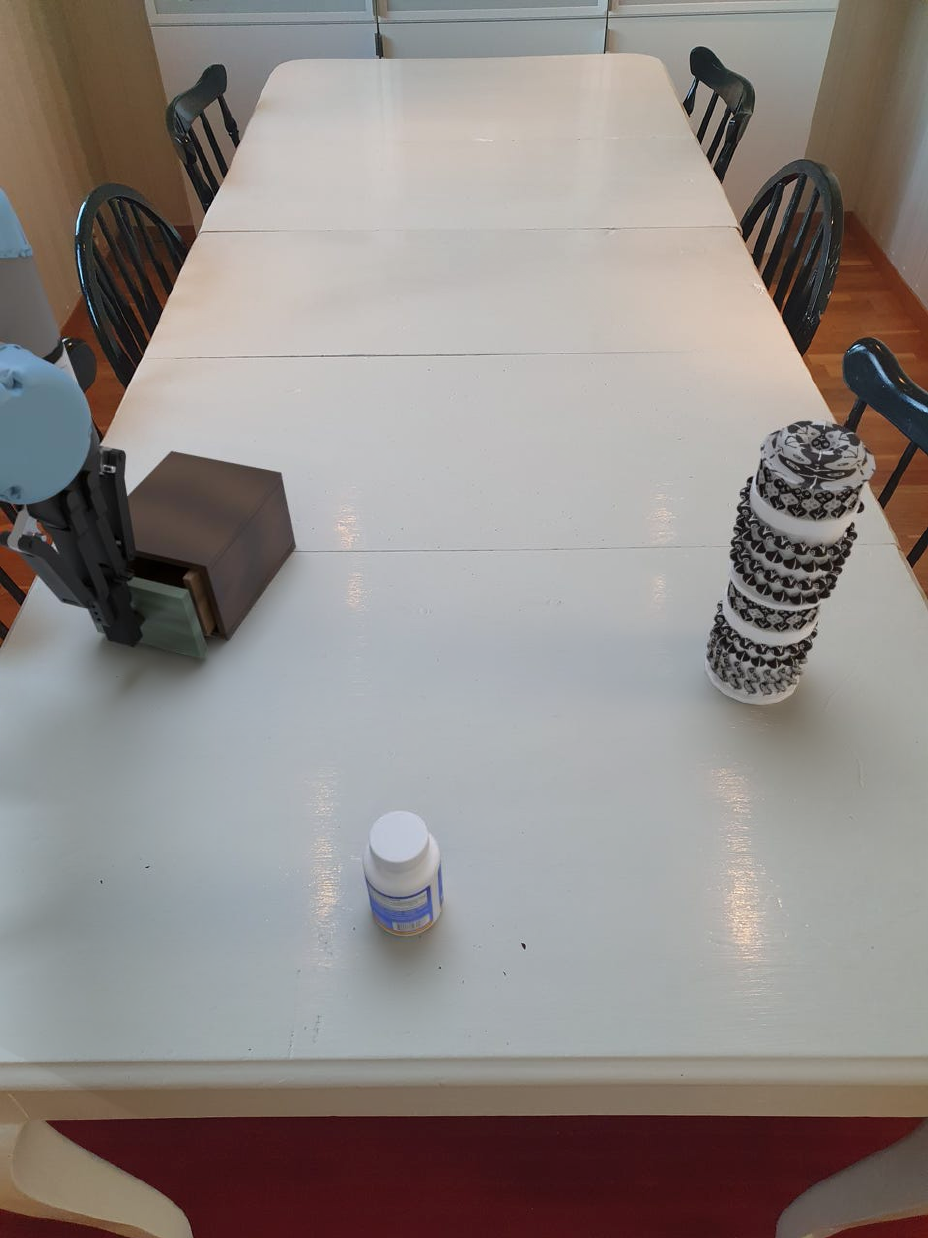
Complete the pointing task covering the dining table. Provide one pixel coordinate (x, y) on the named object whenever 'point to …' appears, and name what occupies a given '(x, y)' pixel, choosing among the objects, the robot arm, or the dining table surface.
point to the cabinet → (215, 528)
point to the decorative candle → (786, 557)
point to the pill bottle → (403, 874)
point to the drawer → (170, 606)
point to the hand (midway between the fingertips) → (125, 638)
